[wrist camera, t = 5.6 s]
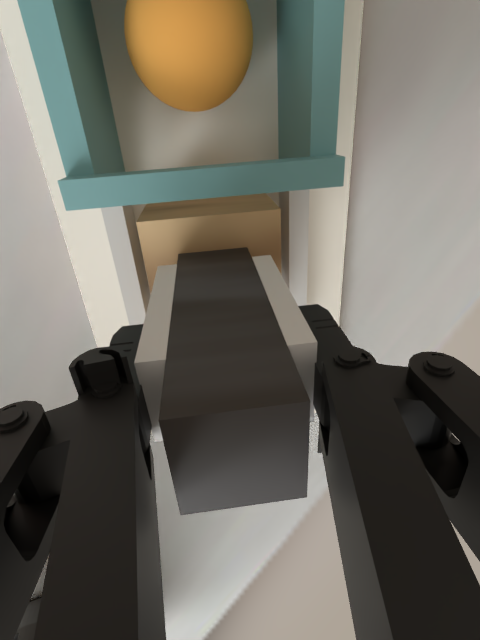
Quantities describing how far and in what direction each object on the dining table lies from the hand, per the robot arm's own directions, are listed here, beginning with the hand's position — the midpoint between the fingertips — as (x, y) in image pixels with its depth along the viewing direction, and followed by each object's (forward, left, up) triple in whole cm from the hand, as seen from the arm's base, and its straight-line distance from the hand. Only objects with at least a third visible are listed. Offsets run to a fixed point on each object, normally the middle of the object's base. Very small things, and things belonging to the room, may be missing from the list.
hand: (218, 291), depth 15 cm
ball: (+9, 0, -4) cm, 10 cm away
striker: (0, 0, -7) cm, 7 cm away
